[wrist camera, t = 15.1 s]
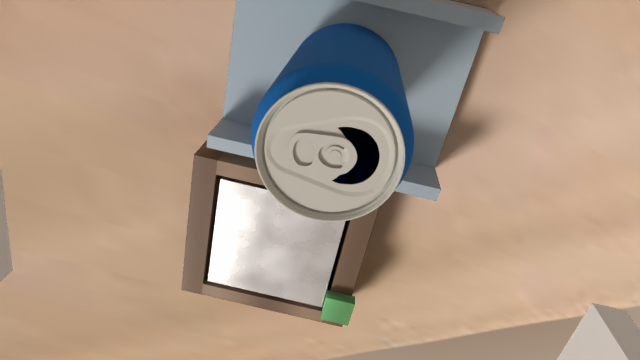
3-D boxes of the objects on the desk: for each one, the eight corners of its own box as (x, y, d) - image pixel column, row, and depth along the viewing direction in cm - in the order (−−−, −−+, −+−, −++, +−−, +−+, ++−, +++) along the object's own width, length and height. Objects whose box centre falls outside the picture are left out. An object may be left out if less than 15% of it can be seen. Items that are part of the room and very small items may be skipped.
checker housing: (195, 264, 37) (177, 297, 33) (209, 137, 32) (189, 160, 28) (347, 300, 37) (344, 335, 33) (384, 178, 32) (385, 205, 28)
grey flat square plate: (211, 272, 34) (207, 280, 34) (224, 172, 31) (220, 179, 30) (322, 297, 35) (321, 307, 34) (349, 201, 31) (348, 209, 30)
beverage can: (390, 134, 29) (401, 241, 19) (288, 122, 30) (241, 220, 19) (407, 27, 26) (433, 81, 16) (294, 15, 27) (244, 60, 16)
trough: (225, 124, 31) (206, 147, 28) (246, -49, 26) (227, -48, 23) (429, 172, 31) (436, 200, 28) (487, 8, 27) (505, 17, 23)
